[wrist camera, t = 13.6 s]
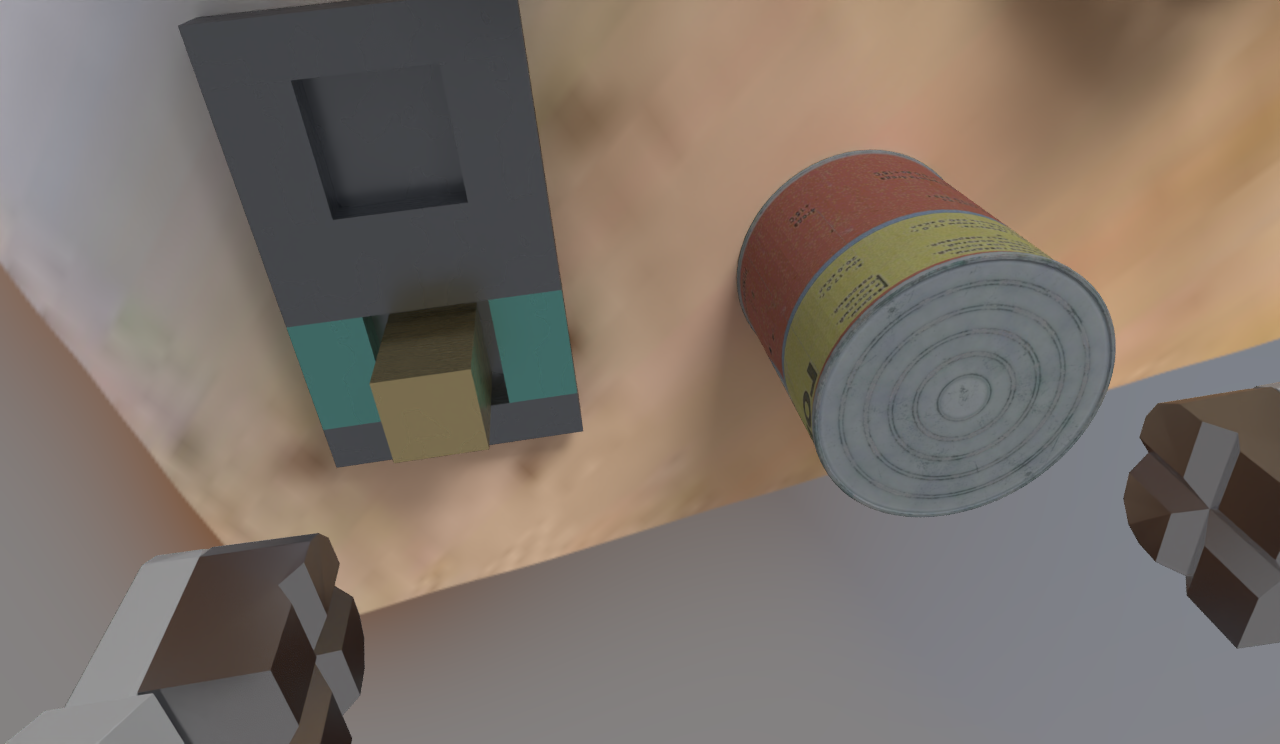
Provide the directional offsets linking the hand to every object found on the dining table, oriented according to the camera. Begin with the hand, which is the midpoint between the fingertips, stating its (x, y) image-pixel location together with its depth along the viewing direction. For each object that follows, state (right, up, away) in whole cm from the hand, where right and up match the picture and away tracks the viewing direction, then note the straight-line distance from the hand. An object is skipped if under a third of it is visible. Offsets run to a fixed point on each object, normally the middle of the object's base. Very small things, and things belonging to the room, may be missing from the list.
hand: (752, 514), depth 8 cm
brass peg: (-10, +3, +31) cm, 32 cm away
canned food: (+9, +7, +32) cm, 34 cm away
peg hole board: (-11, +7, +28) cm, 31 cm away
